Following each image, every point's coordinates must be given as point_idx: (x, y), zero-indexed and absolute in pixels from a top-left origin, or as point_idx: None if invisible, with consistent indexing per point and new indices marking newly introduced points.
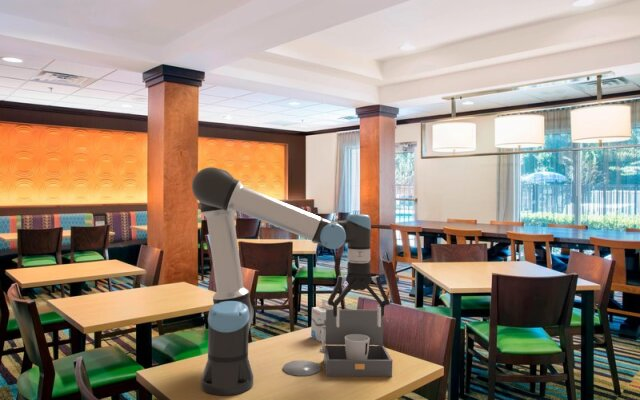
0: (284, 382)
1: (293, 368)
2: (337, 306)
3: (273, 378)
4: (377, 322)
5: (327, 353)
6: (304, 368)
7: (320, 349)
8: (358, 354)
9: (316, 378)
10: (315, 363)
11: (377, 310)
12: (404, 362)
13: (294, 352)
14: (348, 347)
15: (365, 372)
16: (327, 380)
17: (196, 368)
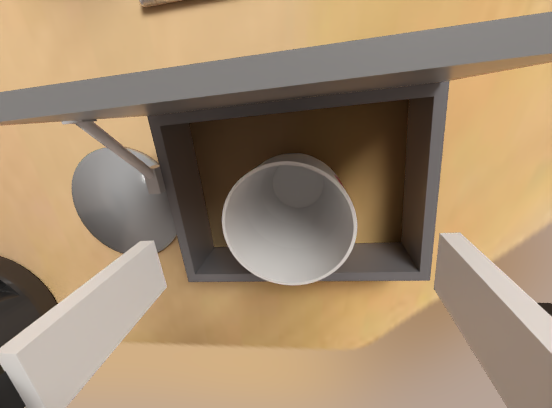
0: None
1: (106, 218)
2: (24, 396)
3: (83, 268)
4: (447, 256)
5: (179, 217)
6: (136, 216)
7: (141, 2)
8: (297, 248)
9: (184, 266)
10: None
11: (518, 334)
12: (512, 104)
13: (54, 36)
14: (251, 245)
15: None
16: None
17: None
